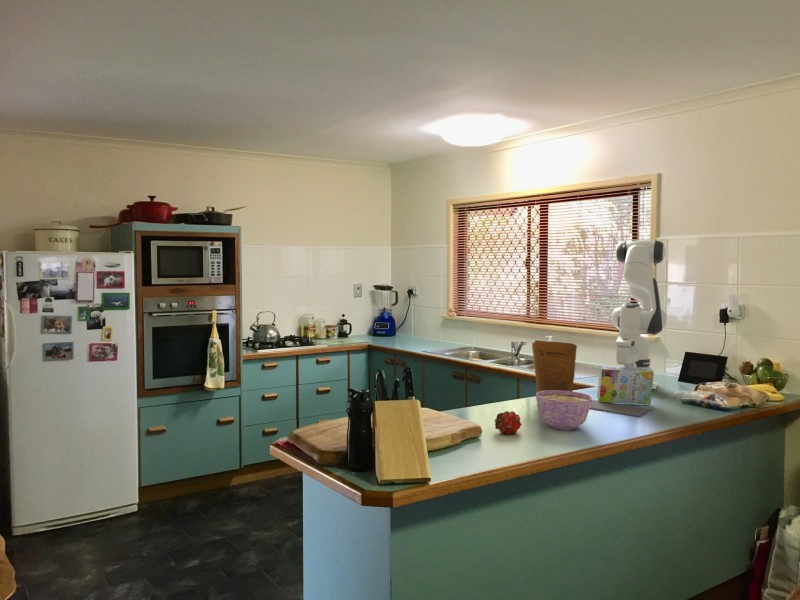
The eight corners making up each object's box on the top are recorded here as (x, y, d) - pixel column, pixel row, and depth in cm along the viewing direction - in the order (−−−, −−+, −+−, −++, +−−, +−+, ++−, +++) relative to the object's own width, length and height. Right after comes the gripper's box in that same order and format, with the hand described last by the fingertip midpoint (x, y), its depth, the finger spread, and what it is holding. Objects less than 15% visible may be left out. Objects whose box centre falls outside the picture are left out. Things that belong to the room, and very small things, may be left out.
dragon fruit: (494, 440, 227) (515, 439, 235) (512, 430, 222) (533, 429, 230) (485, 417, 231) (506, 417, 239) (503, 406, 226) (523, 407, 234)
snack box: (647, 400, 286) (651, 367, 282) (650, 405, 280) (654, 371, 277) (596, 397, 288) (599, 364, 284) (598, 402, 282) (602, 368, 279)
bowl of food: (603, 430, 238) (604, 398, 237) (561, 437, 228) (562, 403, 227) (563, 418, 255) (564, 388, 254) (522, 423, 245) (524, 392, 244)
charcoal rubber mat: (590, 400, 289) (590, 399, 289) (651, 410, 273) (651, 408, 273) (576, 406, 276) (576, 405, 276) (639, 417, 260) (640, 415, 260)
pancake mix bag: (569, 415, 260) (572, 344, 258) (528, 406, 273) (531, 339, 272) (578, 413, 265) (581, 343, 263) (537, 404, 278) (540, 338, 276)
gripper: (629, 339, 295) (627, 370, 296) (614, 342, 278) (612, 374, 279) (643, 340, 291) (642, 371, 292) (629, 343, 275) (627, 376, 275)
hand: (627, 373), depth 285 cm, fingers closed
